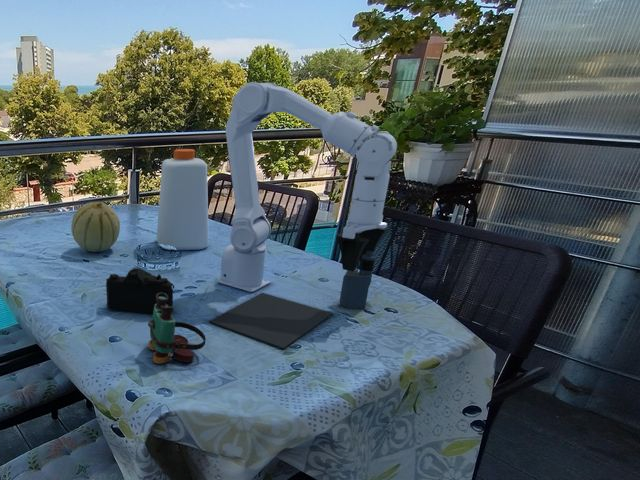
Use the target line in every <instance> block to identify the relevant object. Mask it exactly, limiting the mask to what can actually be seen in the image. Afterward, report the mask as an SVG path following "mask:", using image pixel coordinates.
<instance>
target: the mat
mask: <svg viewBox="0 0 640 480" xmlns="http://www.w3.org/2000/svg"><path fill="white" fill-rule="evenodd" d="M333 315H334V313H333V312H332V311H331V312H330V311H327V310H323V309H320V308H317V307H313V306H310V305H306V304H303V303H300V302H295V301H293V300H289V299H286V298H283V297H279V296H275V295H272V294H269V293H265V292H261V293H259V294H258V295H256V296H254V297H251V298H250V299H248V300H246V301H244V302H243V303H240V304H239V305H237V306H235V307H233V308H231V309H229V310H227V311H225V312H223V313H221V314H219V315H217V316H215V317H214V318H211V319H210V320H209V324H212V325H215V326H218V327H219V328H222V329H225V330H228V331H231V332H234V333H236V334H239V335H242V336H245V337H247V338H249V339H253V340H255V341H257V342H261V343H264V344H266V345H269V346H271V347H274V348H277V349H280V350H283V351H284V350H285V349H287V348H288V347H290V346H291V345H292V344H294V343H295V342H297V341H298V340H300V339H301V338H302V337H304V336H305V335H306V334H308V333H310V332H311V331H312V330H313V329H315V328H317V327H318V326H320V325H321V324H322V323H323V322H325V321H326V320H328V319H329V318H331V317H332V316H333Z"/></svg>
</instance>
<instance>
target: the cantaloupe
mask: <svg viewBox="0 0 640 480" xmlns="http://www.w3.org/2000/svg"><path fill="white" fill-rule="evenodd" d="M70 228H71V235H72V238H73V240H74V241H75V243H76V244H77V245H78V246H79V248H81V249H83V250H84V251H86V252H90V253H91V252H92V253H99V252H105V251H106V250H108V249H110V248H111V247H113V246H114V245H115V244H116V242H117V241H118V238H119V235H120V231H121V221H120V218H119V216H118V214H117V213H116V211H115V210H114V209H113V208H112V207H111V206H110V205H108V204H106V203H104V202H102V201H101V202H100V201H93V202H87V203H85V204H83V205H81V206H80V207H79V208H78V209H77V210H76V211H75V213H74V214H73V217H72V221H71V225H70Z"/></svg>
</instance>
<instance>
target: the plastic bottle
mask: <svg viewBox="0 0 640 480" xmlns="http://www.w3.org/2000/svg"><path fill="white" fill-rule="evenodd" d="M208 194H209V191H208V163H207V162H205V160H204V159H202V158H197V157H196V150H195V149H192V148H181V149H180V148H179V149H178V148H177V149H174V150H173V158H166V159H164V160H163V161H162V163H161V173H160V188H159V199H158V200H159V201H158V213H157V225H156V240H157V241H156V242H157V245H159V244H163V245H170V246H173V247H175V248H176V249H177V250H176V251H199V250H203V249H206V248H207V247H208V246H209V243H210V240H209V239H210V238H209V235H210V234H209V233H210V232H209V196H208Z"/></svg>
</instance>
